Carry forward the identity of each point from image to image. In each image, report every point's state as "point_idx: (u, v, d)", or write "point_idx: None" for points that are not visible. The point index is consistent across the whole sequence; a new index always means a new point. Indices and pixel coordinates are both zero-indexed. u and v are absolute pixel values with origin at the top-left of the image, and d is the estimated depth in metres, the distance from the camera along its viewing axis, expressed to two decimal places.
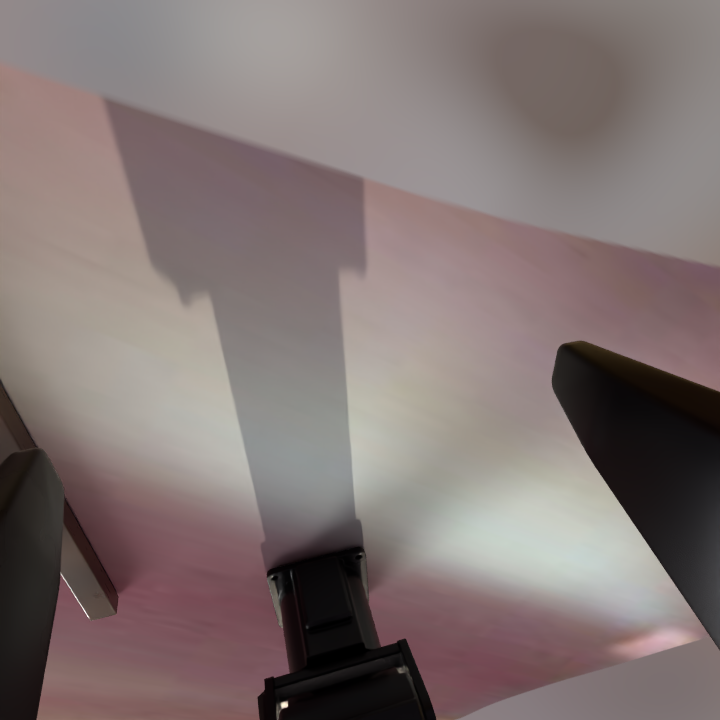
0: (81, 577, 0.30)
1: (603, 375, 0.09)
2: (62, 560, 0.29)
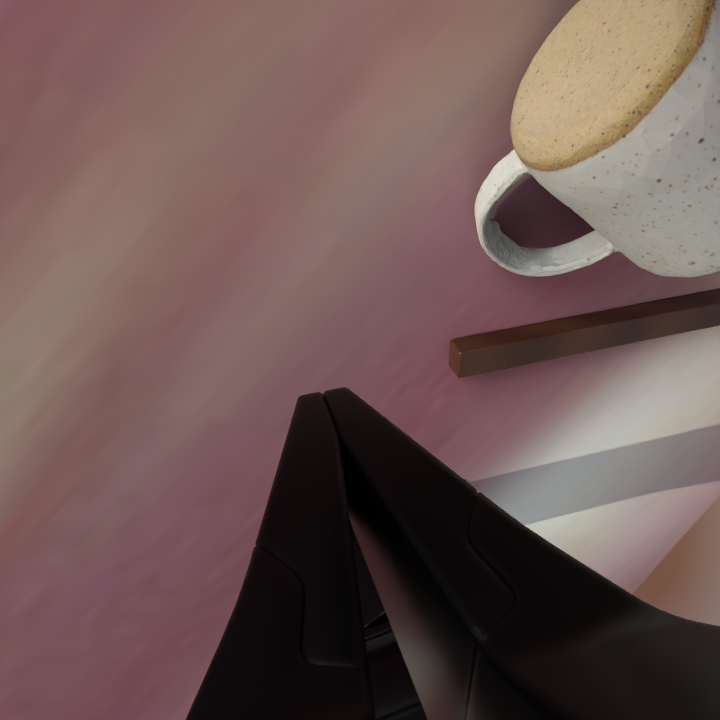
0: (537, 352, 0.26)
1: (338, 431, 0.08)
2: (571, 339, 0.27)
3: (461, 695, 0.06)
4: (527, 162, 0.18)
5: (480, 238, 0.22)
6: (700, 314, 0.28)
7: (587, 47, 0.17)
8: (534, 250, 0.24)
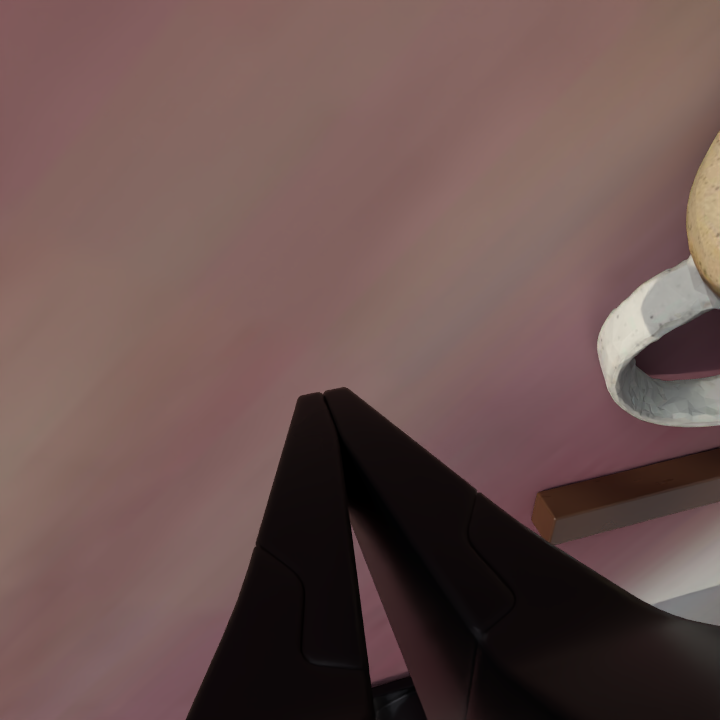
0: (657, 508, 0.19)
1: (338, 431, 0.08)
2: (705, 489, 0.19)
3: (461, 695, 0.06)
4: None
5: (610, 384, 0.14)
6: None
7: None
8: (672, 384, 0.16)
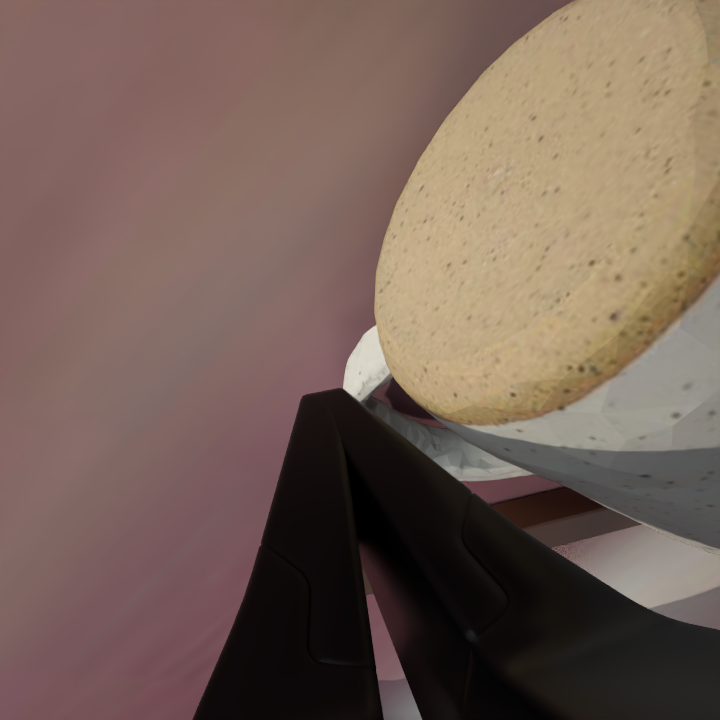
0: None
1: (333, 432, 0.08)
2: None
3: (455, 697, 0.06)
4: (392, 373, 0.09)
5: None
6: None
7: (500, 165, 0.08)
8: (453, 433, 0.15)
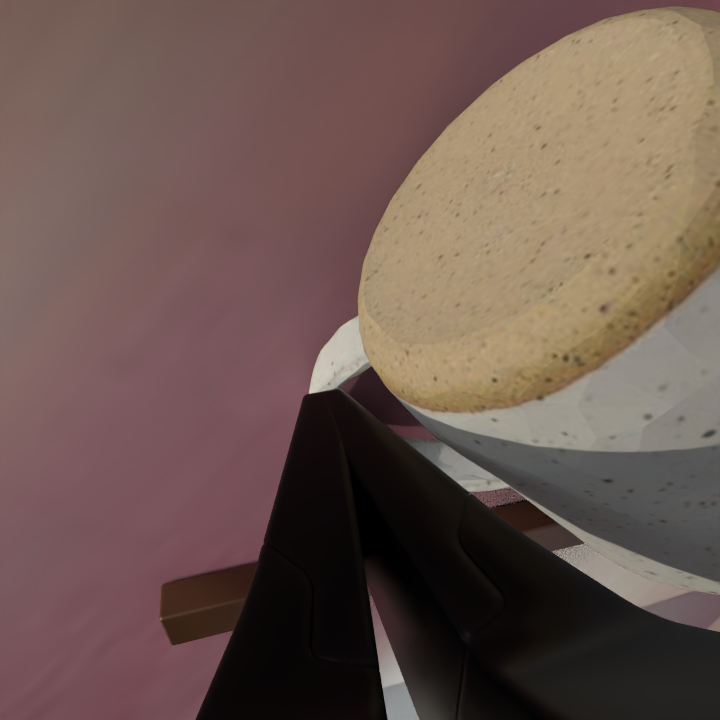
0: None
1: None
2: None
3: (452, 698, 0.06)
4: (369, 360, 0.09)
5: None
6: (567, 531, 0.18)
7: (500, 168, 0.08)
8: (412, 442, 0.15)
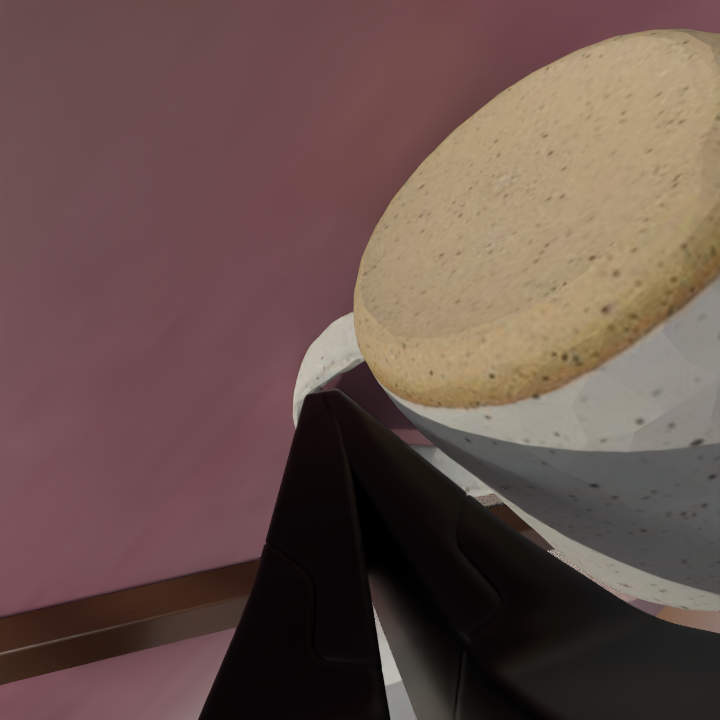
0: (119, 644, 0.16)
1: None
2: (178, 622, 0.16)
3: (449, 699, 0.06)
4: (362, 354, 0.09)
5: None
6: None
7: (506, 172, 0.08)
8: None
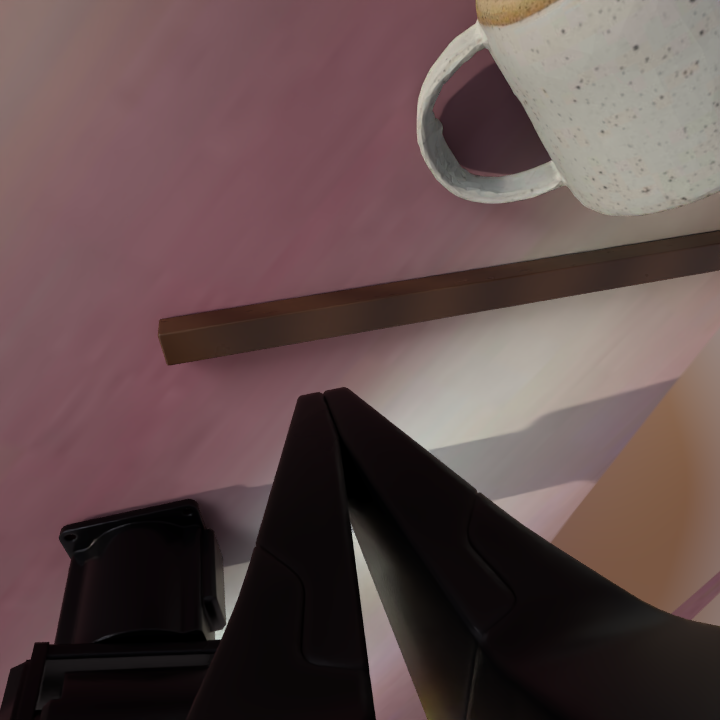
0: (267, 335, 0.22)
1: (338, 431, 0.08)
2: (310, 320, 0.22)
3: (461, 695, 0.06)
4: (488, 17, 0.15)
5: (418, 131, 0.18)
6: (478, 293, 0.23)
7: None
8: (474, 175, 0.21)
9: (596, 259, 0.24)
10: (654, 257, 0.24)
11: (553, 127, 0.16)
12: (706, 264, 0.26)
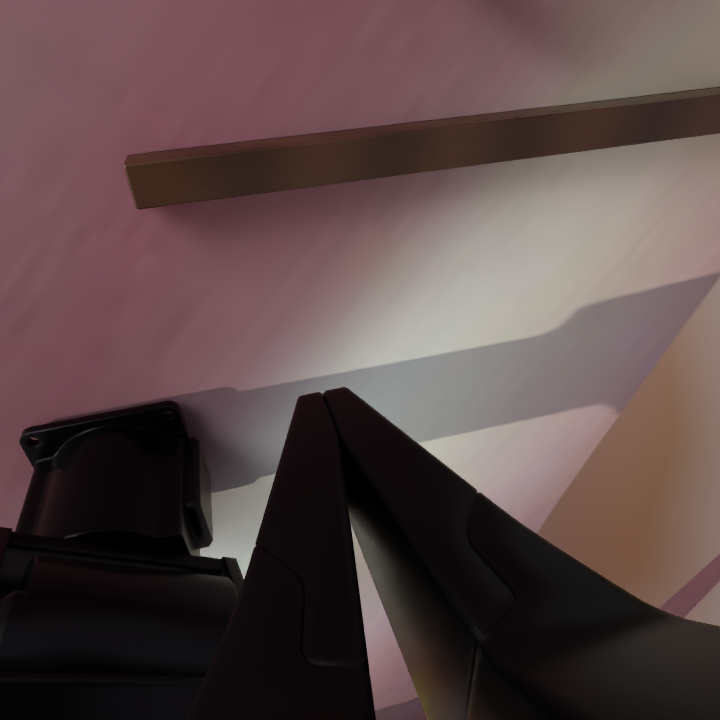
0: (255, 175, 0.19)
1: (338, 431, 0.08)
2: (305, 158, 0.19)
3: (461, 695, 0.06)
4: None
5: None
6: (501, 135, 0.20)
7: None
8: None
9: (637, 102, 0.21)
10: (703, 100, 0.21)
11: None
12: None
